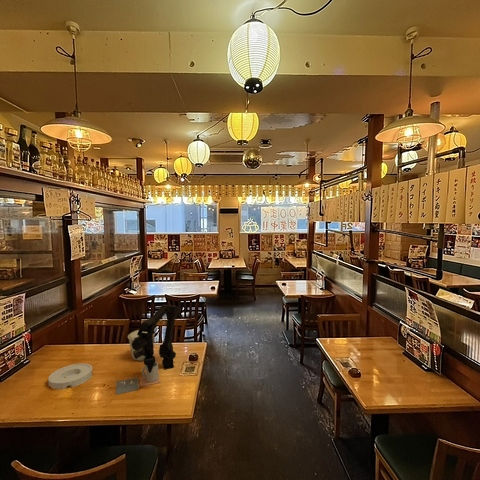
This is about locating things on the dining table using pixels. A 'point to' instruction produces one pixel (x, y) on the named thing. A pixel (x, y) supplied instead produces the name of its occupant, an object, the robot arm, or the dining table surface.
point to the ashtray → (70, 376)
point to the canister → (131, 339)
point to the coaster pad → (145, 383)
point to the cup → (153, 375)
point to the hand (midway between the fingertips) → (149, 368)
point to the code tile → (127, 385)
